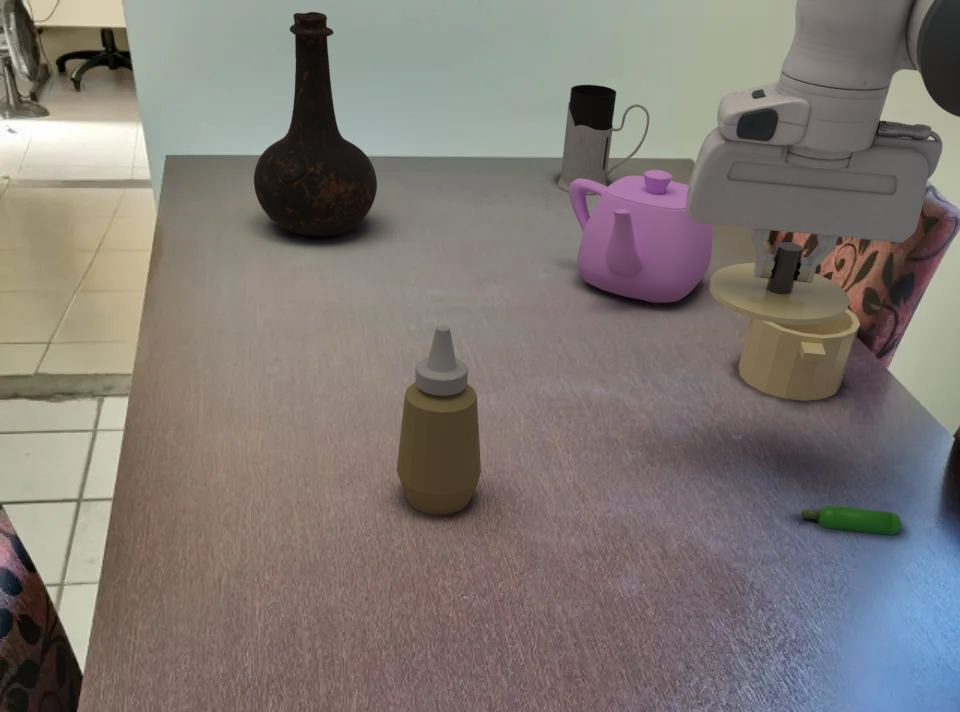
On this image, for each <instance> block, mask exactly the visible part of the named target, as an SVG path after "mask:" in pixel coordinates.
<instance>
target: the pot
mask: <svg viewBox="0 0 960 712" xmlns="http://www.w3.org/2000/svg"><path fill="white" fill-rule="evenodd" d="M749 318H750V319H749V323H748V326H747V331H746V335H745V338H744V343H743V347H742V350H741V355H740V359H739V363H738V372H739V376H740V377H741V379H742V380H743V381H745V382H746V383H747V385H748V386H751V387H752V388H754V389H755V390H758V391H760V392H761V393H763V394H767V395H769V396H773V397H776V398H781V399H784V400H793V401H802V402H803V401H804V402H809V401H818V400H824V399H826V398H829V397H832V396H833V395H836V394H837V392H838V390H839V389H840V387H841V385H842V381H843V379H844V375H845V371H846V369H847V367H848V363H849V360H850V357H851V354H852V351H853V349H854V345H855V342H856V339H857V335H858V333H859V330H860V327H861V323H860V320H859V318H858V316H857V314H855V313H854V312H853V311H852V310H850V309H849V307H848V308H847V311H846V313H845V314H844V315H843V316H841V317H840V318H838V319H836V320H834V321H831V322H827V323H822V324H815V325H788V324H779V323H773V322H767V321H763V320H759V319H755V318H751V317H749Z"/></svg>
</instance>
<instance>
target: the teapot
mask: <svg viewBox="0 0 960 712" xmlns="http://www.w3.org/2000/svg"><path fill="white" fill-rule="evenodd" d="M672 178H673V175H672V174H671V173H669V172H668V171H665V170H660V169H649V170H646V171H644V172H643V175H626V176H623V177H621V178H618V179H617V180H615V181H614V182H612V183H610V185H607V186H604V185H602V184H600V183H597V182H595V181H592V180H588V179H582V178H581V179H576V180H574V181H573V182H572V183H571V185H570V188H569V192H568V193H569V201H570V204H571V207H572V208H571V209H572V210H573V213H574V215H575V217H576V219H577V222H578V224H579V226H580V228H581V230H582V232H583V233H582V236H581V240H580V244H579V248H578V252H577V253H578V254H577V265H578V269H579V271H580V273H581V274H580V275H581V276H582V278H583V280H584V281H585V282H586V283H588V284H589V285H591V286H593V287H596V288H598V289H599V290H600V291H601V290H602V291H603V292H604V291H605V292H609V293H612V294H614V295H619V296H622V297H626V298H631V299H636V300H641V301H645V302H648V303H650V304H662V303H675V302H678V301H680V300H682V299H683V298H685V297H686V296H688V295H689V294H690V293H691V292H692V291H693V290H694V289H695V288H696V287H697V286H698V284H699V283H700V282H701V280H702V279H703V278H704V276H705V275H706V274H707V272H708V270H709V267H710V264H711V259H712V253H713V252H712V251H713V228H712V224H701V223H695V222H693V221H692V220H691V218H690V217H689V215H688V213H687V210H686V197H687V192H688V188H689V184H685V183H681V182H677V181H674V180H672ZM587 192H591V193H595V194H594V195H597V196H599V198H598V201H597V202H596V204H595V206H594V208H593V210H592V212H591V214H590V213H589V209H588V204H587V195H586V193H587Z"/></svg>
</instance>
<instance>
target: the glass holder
mask: <svg viewBox="0 0 960 712" xmlns="http://www.w3.org/2000/svg"><path fill="white" fill-rule="evenodd" d="M616 98H617V91H616V90H615V89H614V88H611V87H608V86H604V85H597V84H578V85H574V86H572V87H571V88H570V95H569V102H568V104H567V113H566V123H565V134H564V142H563V143H564V144H563V153H562V162H561V173H560V177H559V180H558V181H557V187H558V188H560V189H561V190H562V191H565V192H566V193H569V188H570V185H571V183H572V182H573V181H574V180H576V179H581V178H582V179H588V180H592V181H595V182H597V183H600V184H602V185H604V186H607V187H608V184H607V180H608V179H609V174H610V173H611V172H612V171H614V170H615V169H616V168H618V167H619V166H621V165H623V164H624V163H625V162H627V161H628V160H629V159H631V158H632V157H633V156H635V155H636V154H637V152H638V151H639V150H640V148H641V146H642V145H643V143H644V141H645V140H646V136H647V134H648V130H649V125H650V114H649V111H648V109H647V108H646V107H645V106H644V105H642V104H638V103H635V104H631V105H629V106H628V107H627V108H626V109H625V110H624V113H623V115H622V118H621V124H620V127H618V128H614V126H613V122H614V115H615V107H616V106H615V105H616ZM633 108H640V109H641V110H643V111H644V112H645V115H646V126H645V129H644V133H643V135H642V138H641V140H640V142H639V144H638V145H637V147H636V148H635V149H634V151H632V152H631V153H630V154H628V156H627V157H625V158H624V159H623V160H621V161H619V162H618V163H617V164H615V165H614V166H612V167H611V168H610V169H609V170H608V168H609V159H610V152H611V145H612V138H613V132H620V131H621V130H622V129H623V128H624V127H625V121H626V117H627V114H628V112H629V111H630V110H631V109H633ZM589 195H590V196H592V195H593V196H594V195H596V194H595V193H591V192H587V193H586V196H589Z"/></svg>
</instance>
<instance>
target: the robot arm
mask: <svg viewBox="0 0 960 712" xmlns="http://www.w3.org/2000/svg"><path fill="white" fill-rule="evenodd" d="M794 16H795V18H794V21H795V24H794V25H795V28H794V33H793V34H794V35H793V38H792V43H791V45H790V47H789V50H788V52H787V54H786V56H785V58H784V60H783V62H782V65H781V68H780V69H781V70H780V73H779V77H778V81H775V82H770V83H767V84H763V85H759V86H755V87H751V88H746V89H743V90H742V89H741V90H737V91H734V92H731V93H730V92H729V93H727V94H725V95H724V96H722V98H721V99H720V101H719V104H718V107H717V116H716V120H717V126H716V127H714V128H713V129H712V130H711V131H710V132H709V133H708V134H707V135H706V137H704V140H703V142H702V144H701V146H700V149H699V152H698V154H697V157H696V160H695V163H694V165H693V169H692V172H691V176H690V180H689V184H688V185H689V188H688V192H687V197H686V210H687V213H688V215H689V217H690V218H691V220H692V221H693V222H695V223H701V224H711V226H713V225H714V226H722V227H723V226H724V227H734V228H743V229H750V236H751V237H750V238H751V240H752V244H753V247H754V250H755V254H756V259H755V262H754V263H755V267H754V276H755V277H756V278H768V279H771V277H772V270H773V269H774V265H775V259H774V255H775V254H771V253H766V252H765V249H764V245H763V242H768V241H769V238H770V234H771V232H772V231H776V232H786V233H795V234H804V235H805V234H806V235H816V238H817V242H818V245H816V247H815V248H814V249H813V250H812V251H811V252H810V254H809V255H808V256H807V257H806V256H805V257H804V256H802V257H801V261H800V264H799V268H798V271H797V275H796V279H795V281H796V282H806V283H812V281H813V278H814V274H816V271H817V267H818V266H820V264H822V263H823V261H825V260H826V259H827V257H828V256H830V254H831V253H832V252H833V251H834V250H836V247H837V243H838V240H839V238H846V239H847V238H848V239H858V240H868V241H880V242H889V243H899V244H900V243H903V242H905V241H907V240H908V239H909V238H910V237H911V236H912V235H913V234H915V232H916V231H917V227H918V224H919V221H920V217H921V213H922V209H923V205H924V201H925V200H924V199H925V195H926V190H927V184H928V180H929V179H930V178H931V177H932V176H933V175H934V173H935V172H936V170H937V166H938V164H939V161H940V158H941V155H942V153H943V141H942V139H941V137H940V135H939V134H938V133H937V132H936V131H934V130H932V127H931V126H930V125H927V124H923V123H922V124H921V123H915V124H908V123H902V122H899V121H888V120H881V117H882V114H883V111H884V108H885V107H884V106H885V103H886V99H887V97H888V93H889V90H890V88H891V83H892V80H893V78H894V76H895V74H896V73H897V72H900V71H901V70H907V71H917V72H918V73H919V74H920V76H921V79H922V81H923V84H924V87H925V89H926V92H927V93H928V95H929V96H930V98H931V99H932V100H933V102H934V103H935V104H936V105H937V106H938V107H940V109H942V110H944V111H945V112H947V113H948V114H950V115H952V116H955V117H958V118H960V0H796V3H795V11H794ZM930 137H931V138H932V139H929V138H930Z"/></svg>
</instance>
